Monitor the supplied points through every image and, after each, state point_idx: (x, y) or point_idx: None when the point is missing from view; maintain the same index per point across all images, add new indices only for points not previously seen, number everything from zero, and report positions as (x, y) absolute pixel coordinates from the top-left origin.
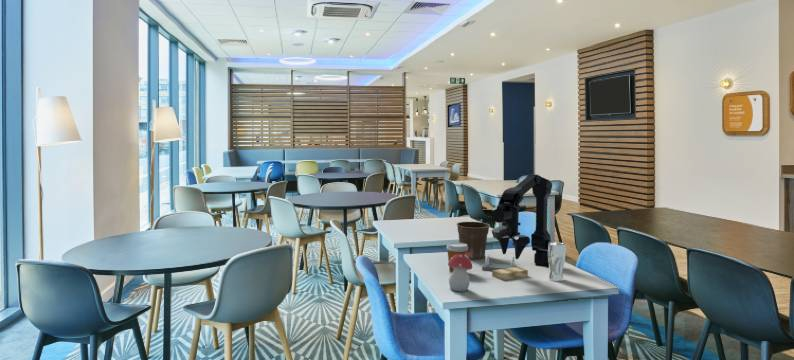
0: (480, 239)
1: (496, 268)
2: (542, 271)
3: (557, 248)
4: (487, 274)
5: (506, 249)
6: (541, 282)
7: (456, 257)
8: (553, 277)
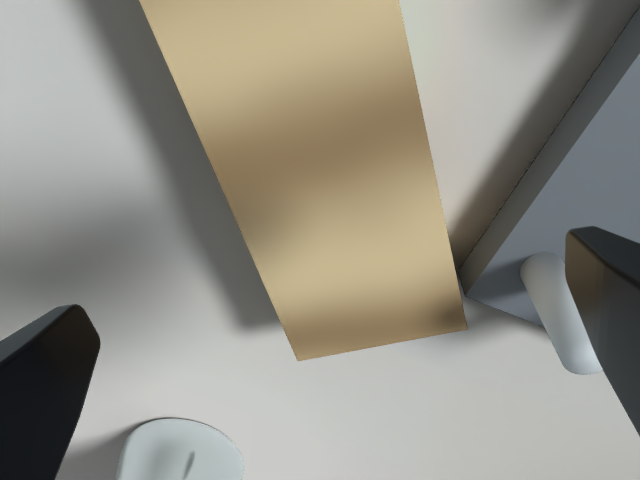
0: None
1: (634, 47)
2: (432, 471)
3: None
4: None
5: (615, 381)
6: None
7: None
8: (126, 455)
